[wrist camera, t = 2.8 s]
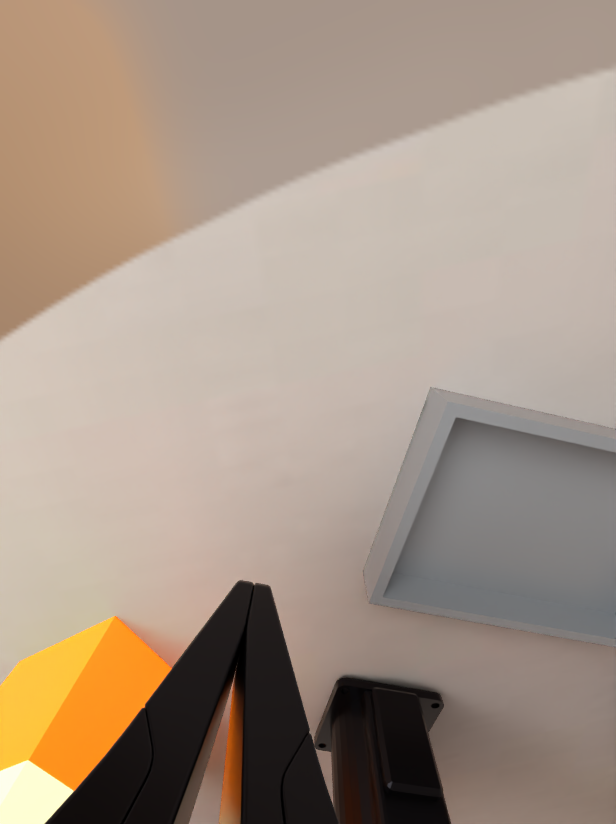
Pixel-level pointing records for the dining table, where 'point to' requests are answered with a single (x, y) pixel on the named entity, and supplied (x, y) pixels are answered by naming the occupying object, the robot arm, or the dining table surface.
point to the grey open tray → (502, 521)
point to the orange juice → (69, 715)
